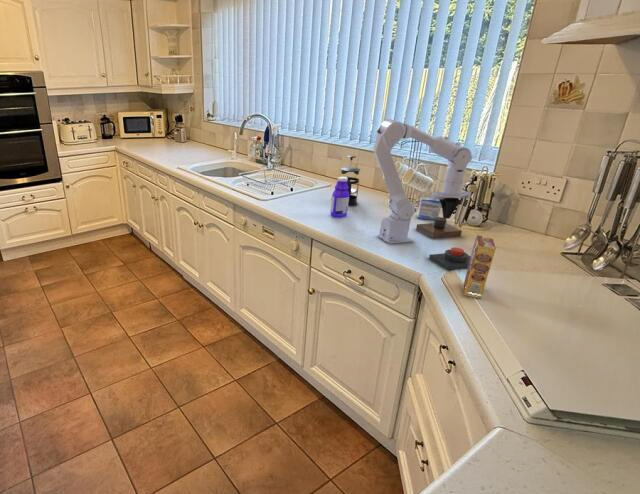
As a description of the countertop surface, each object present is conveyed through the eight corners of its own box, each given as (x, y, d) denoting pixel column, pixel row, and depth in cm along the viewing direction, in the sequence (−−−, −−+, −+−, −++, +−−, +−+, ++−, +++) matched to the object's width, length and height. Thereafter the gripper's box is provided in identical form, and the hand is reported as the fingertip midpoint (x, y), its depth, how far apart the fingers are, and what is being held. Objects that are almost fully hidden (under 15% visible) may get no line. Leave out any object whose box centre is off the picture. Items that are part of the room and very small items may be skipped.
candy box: (482, 299, 107) (496, 248, 101) (464, 296, 109) (476, 245, 103) (480, 285, 114) (493, 237, 108) (463, 282, 116) (475, 234, 110)
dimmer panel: (432, 239, 148) (433, 232, 147) (415, 230, 157) (416, 223, 156) (460, 236, 150) (462, 230, 149) (442, 227, 159) (443, 221, 158)
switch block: (447, 270, 123) (450, 260, 122) (428, 259, 131) (430, 249, 130) (481, 267, 125) (483, 257, 124) (460, 256, 133) (462, 246, 132)
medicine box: (417, 218, 170) (421, 199, 166) (417, 215, 173) (420, 196, 170) (438, 220, 167) (442, 201, 164) (437, 217, 171) (441, 198, 167)
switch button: (455, 257, 125) (456, 252, 125) (447, 252, 128) (448, 247, 128) (465, 256, 126) (466, 251, 125) (457, 251, 129) (458, 246, 128)
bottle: (341, 213, 178) (345, 175, 171) (349, 217, 173) (353, 178, 166) (327, 215, 176) (331, 176, 169) (335, 219, 171) (338, 179, 164)
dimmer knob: (437, 229, 150) (439, 219, 149) (430, 225, 154) (432, 216, 152) (447, 228, 151) (449, 219, 149) (440, 225, 154) (441, 215, 153)
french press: (357, 206, 186) (363, 158, 178) (337, 205, 188) (341, 157, 180) (355, 200, 197) (361, 153, 188) (336, 199, 199) (340, 153, 190)
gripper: (443, 185, 134) (435, 222, 139) (480, 182, 136) (472, 219, 141) (429, 180, 140) (423, 216, 145) (465, 178, 142) (458, 213, 147)
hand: (446, 217), depth 144 cm, fingers closed
